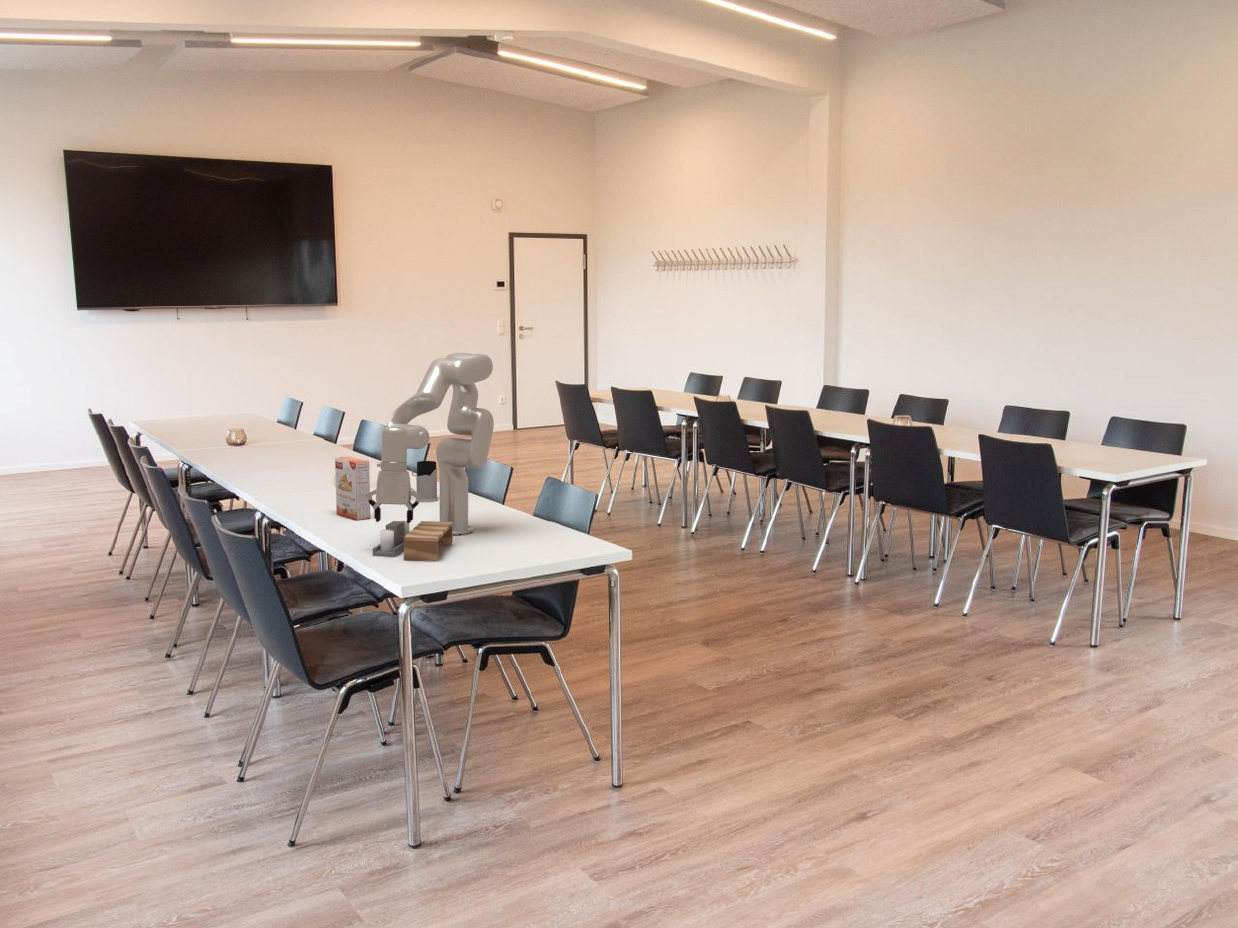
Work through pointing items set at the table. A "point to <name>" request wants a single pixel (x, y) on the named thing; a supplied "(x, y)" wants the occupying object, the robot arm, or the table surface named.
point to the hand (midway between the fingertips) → (393, 521)
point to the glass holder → (426, 480)
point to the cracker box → (352, 488)
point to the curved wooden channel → (427, 540)
